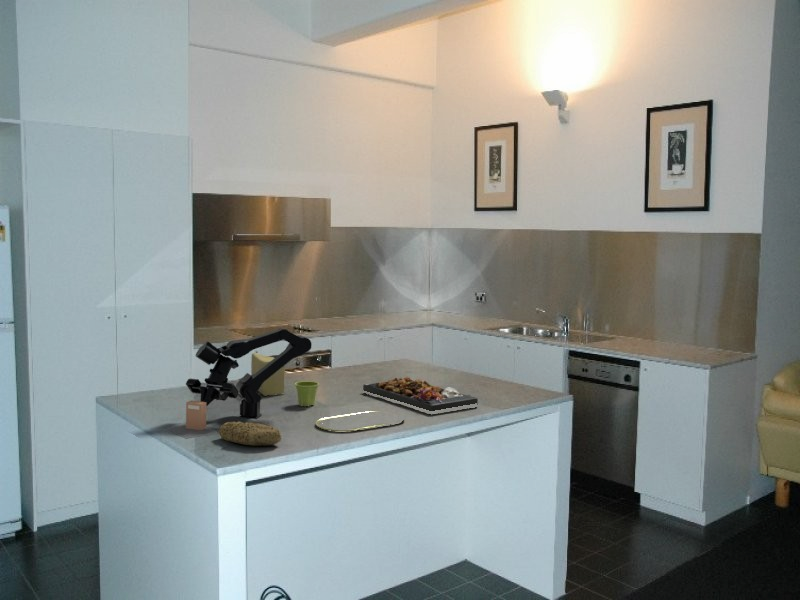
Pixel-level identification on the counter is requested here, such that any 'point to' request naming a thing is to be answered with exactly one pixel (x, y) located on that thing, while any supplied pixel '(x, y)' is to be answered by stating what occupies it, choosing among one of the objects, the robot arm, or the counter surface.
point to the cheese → (274, 382)
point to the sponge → (249, 433)
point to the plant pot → (306, 392)
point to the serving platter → (344, 416)
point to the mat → (191, 431)
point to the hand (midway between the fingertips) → (202, 408)
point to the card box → (196, 415)
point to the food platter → (420, 394)
